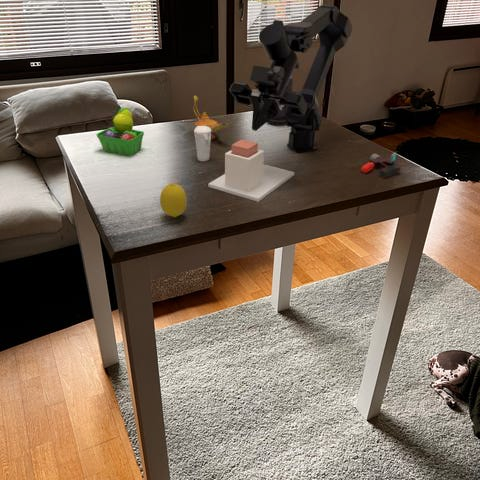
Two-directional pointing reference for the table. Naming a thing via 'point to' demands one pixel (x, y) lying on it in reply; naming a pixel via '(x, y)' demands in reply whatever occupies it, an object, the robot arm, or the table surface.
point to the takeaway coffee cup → (203, 142)
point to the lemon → (173, 200)
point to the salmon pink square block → (244, 148)
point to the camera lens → (281, 118)
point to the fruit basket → (121, 135)
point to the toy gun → (382, 165)
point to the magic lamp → (207, 120)
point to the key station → (249, 176)
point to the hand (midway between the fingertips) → (253, 129)
